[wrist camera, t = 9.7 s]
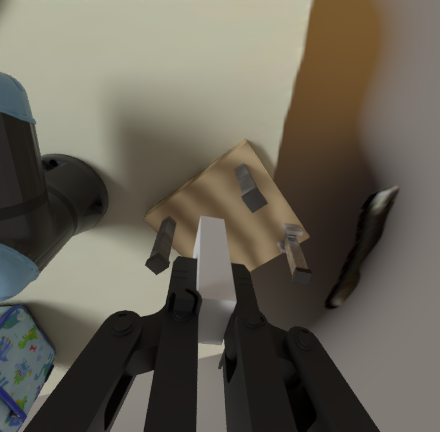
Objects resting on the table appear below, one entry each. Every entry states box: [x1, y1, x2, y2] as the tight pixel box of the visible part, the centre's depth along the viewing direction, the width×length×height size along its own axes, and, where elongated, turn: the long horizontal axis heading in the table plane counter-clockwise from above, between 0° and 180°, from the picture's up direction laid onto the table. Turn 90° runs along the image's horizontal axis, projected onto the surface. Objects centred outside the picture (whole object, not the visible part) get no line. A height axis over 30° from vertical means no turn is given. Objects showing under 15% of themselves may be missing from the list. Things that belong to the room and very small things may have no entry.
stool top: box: [144, 139, 310, 275], centre depth 43 cm, size 24×24×16 cm
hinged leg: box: [282, 233, 312, 285], centre depth 43 cm, size 13×3×2 cm
